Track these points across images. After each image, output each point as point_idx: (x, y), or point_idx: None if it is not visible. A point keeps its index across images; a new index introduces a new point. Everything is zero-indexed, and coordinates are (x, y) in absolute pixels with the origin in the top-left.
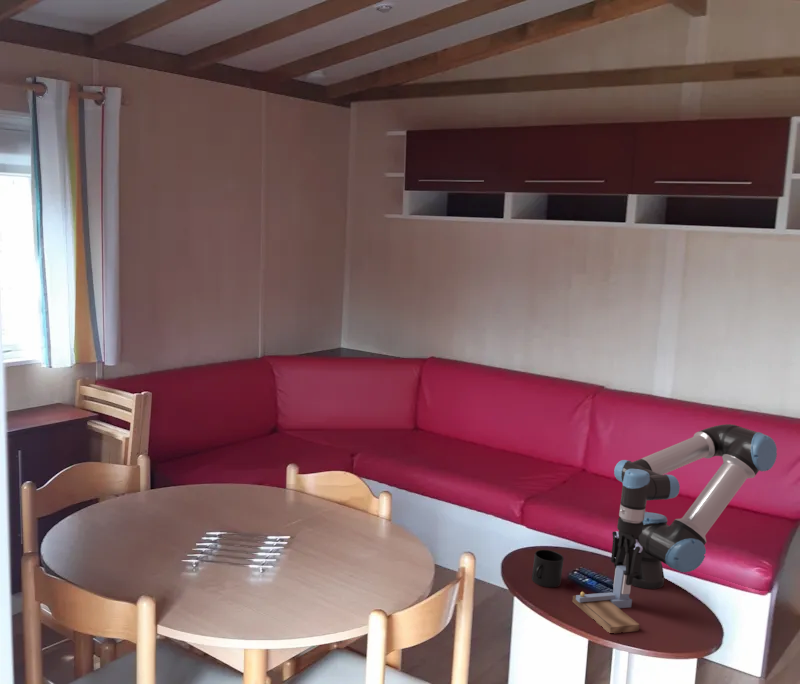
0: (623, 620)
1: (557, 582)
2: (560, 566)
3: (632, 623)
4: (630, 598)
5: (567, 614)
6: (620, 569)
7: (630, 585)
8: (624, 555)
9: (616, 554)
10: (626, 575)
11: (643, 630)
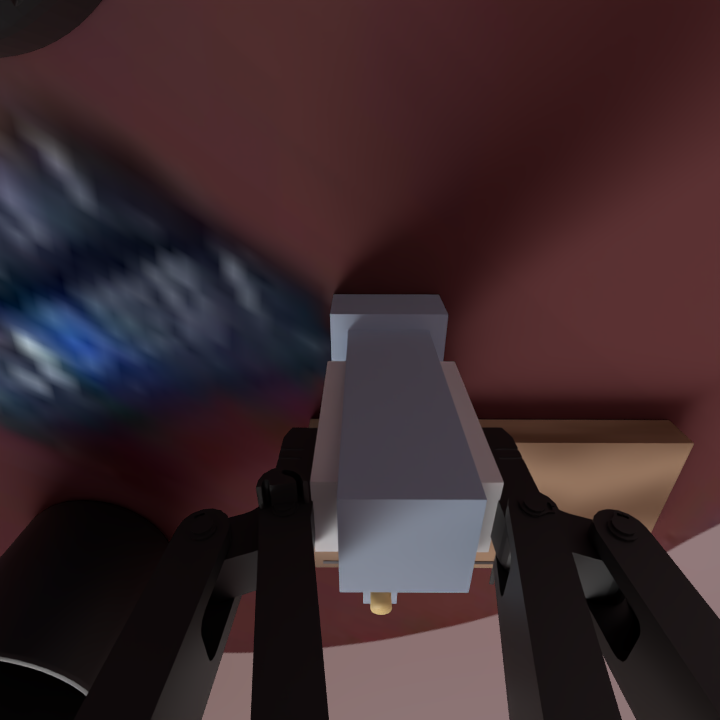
0: (616, 492)
1: (154, 554)
2: (104, 640)
3: (665, 470)
4: (428, 314)
5: (418, 596)
6: (418, 585)
7: (468, 404)
8: (324, 682)
9: (202, 669)
10: (488, 531)
11: (680, 393)
